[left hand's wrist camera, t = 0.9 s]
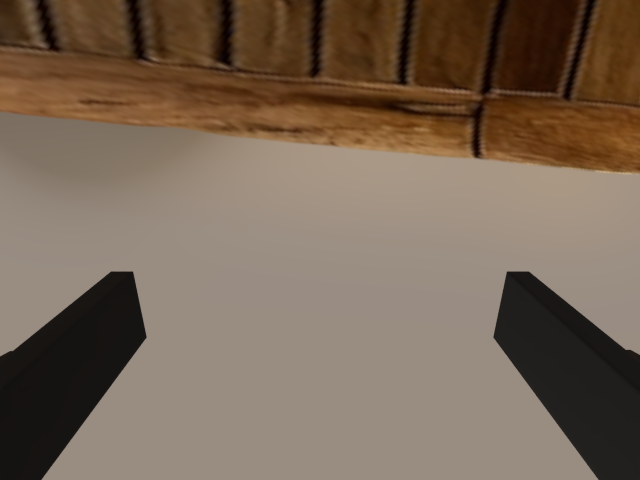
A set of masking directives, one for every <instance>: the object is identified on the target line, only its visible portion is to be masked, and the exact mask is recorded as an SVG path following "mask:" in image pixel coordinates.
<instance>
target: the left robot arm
mask: <svg viewBox="0 0 640 480" xmlns="http://www.w3.org/2000/svg"><path fill="white" fill-rule="evenodd" d="M145 339H146V332H145V327H144V322H143V318H142V313H141V308H140V303H139V298H138V293H137V289H136V284H135V279H134V274H133V272H110V273H109V274H108V275H106V276H105V277H104V278H103V279H101V280H100V281H99V282H98V283H97V284H95V285H94V286H93V287H92V288H90V289H89V290H88V291H87V292H85V293H84V294H83V295H82V296H80V297H79V298H78V299H77V300H75V301H74V302H73V303H72V304H71V305H69V306H68V307H67V308H66V309H64V310H63V311H62V312H61V313H59V314H58V315H57V316H56V317H54V318H53V319H52V320H51V321H50V322H48V323H47V324H46V325H45V326H43V327H42V328H41V329H40V330H38V331H37V332H36V333H35V334H33V335H32V336H31V337H30V338H28V339H27V340H26V341H25V342H24V343H22V344H21V345H20V346H19V347H17V348H16V349H15V350H14V351H10V352H8V353H6V354H4V355H2V356H0V480H42V478H43V477H44V475H45V474H46V473H47V471H48V470H49V469H50V467H51V466H52V465H53V463H54V462H55V461H56V459H57V458H58V457H59V455H60V454H61V452H62V451H63V450H64V448H65V447H66V446H67V444H68V443H69V442H70V440H71V439H72V438H73V436H74V435H75V434H76V432H77V431H78V429H79V428H80V427H81V425H82V424H83V423H84V421H85V420H86V419H87V417H88V416H89V415H90V413H91V412H92V411H93V409H94V408H95V406H96V405H97V404H98V402H99V401H100V400H101V398H102V397H103V396H104V394H105V393H106V392H107V390H108V389H109V388H110V386H111V385H112V383H113V382H114V381H115V379H116V378H117V377H118V375H119V374H120V373H121V371H122V370H123V369H124V367H125V366H126V365H127V363H128V362H129V360H130V359H131V358H132V356H133V355H134V354H135V352H136V351H137V350H138V348H139V347H140V346H141V344H142V343H143V341H144V340H145ZM494 339H495V340H496V342H497V343H498V344H499V346H500V347H501V348H502V350H503V351H504V352H505V354H506V355H507V356H508V358H509V359H510V360H511V362H512V363H513V365H514V366H515V367H516V369H517V370H518V371H519V373H520V374H521V375H522V377H523V378H524V379H525V381H526V382H527V383H528V385H529V386H530V387H531V389H532V390H533V392H534V393H535V394H536V396H537V397H538V398H539V400H540V401H541V402H542V404H543V405H544V406H545V408H546V409H547V411H548V412H549V413H550V415H551V416H552V417H553V419H554V420H555V421H556V423H557V424H558V425H559V427H560V428H561V429H562V431H563V432H564V434H565V435H566V436H567V438H568V439H569V440H570V442H571V443H572V444H573V446H574V447H575V448H576V450H577V451H578V452H579V454H580V455H581V456H582V458H583V459H584V461H585V462H586V463H587V465H588V466H589V467H590V469H591V470H592V471H593V473H594V474H595V475H596V477H597V478H598V480H640V355H639V354H637V353H635V352H633V351H631V350H625V349H624V348H623V347H621V346H620V345H619V344H618V343H616V342H615V341H614V340H613V339H612V338H610V337H609V336H608V335H607V334H605V333H604V332H603V331H601V330H600V329H599V328H598V327H597V326H595V325H594V324H593V323H592V322H590V321H589V320H588V319H587V318H585V317H584V316H583V315H582V314H581V313H579V312H578V311H577V310H576V309H574V308H573V307H572V306H571V305H569V304H568V303H567V302H566V301H565V300H563V299H562V298H561V297H560V296H558V295H557V294H556V293H555V292H553V291H552V290H551V289H550V288H548V287H547V286H546V285H545V284H544V283H542V282H541V281H540V280H539V279H537V278H536V277H535V276H533V275H532V274H531V273H530V272H507V274H506V279H505V284H504V289H503V293H502V298H501V303H500V308H499V313H498V318H497V322H496V327H495V332H494Z"/></svg>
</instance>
